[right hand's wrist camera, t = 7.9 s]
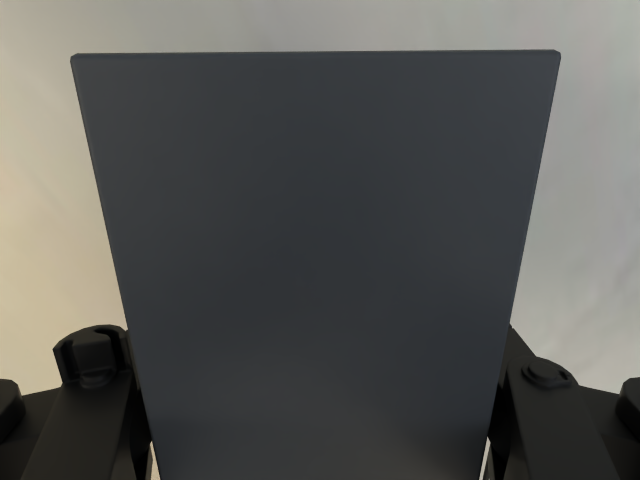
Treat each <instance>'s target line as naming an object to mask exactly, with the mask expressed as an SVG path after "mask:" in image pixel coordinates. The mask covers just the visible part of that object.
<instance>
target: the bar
mask: <svg viewBox="0 0 640 480" xmlns="http://www.w3.org/2000/svg"><path fill="white" fill-rule="evenodd" d="M560 60H561V54H560V52H558V51H556V50H437V51H317V52H197V53H77V54H75V55H73V56H71V59H70V63H71V68H72V72H73V77H74V82H75V86H76V91H77V96H78V100H79V105H80V109H81V114H82V119H83V123H84V128H85V133H86V137H87V142H88V146H89V151H90V156H91V160H92V165H93V170H94V174H95V179H96V183H97V188H98V193H99V197H100V202H101V207H102V211H103V216H104V220H105V225H106V230H107V234H108V239H109V244H110V248H111V253H112V258H113V262H114V267H115V271H116V276H117V281H118V285H119V290H120V295H121V299H122V304H123V308H124V313H125V318H126V322H127V327H128V332H129V336H130V341H131V345H132V350H133V355H134V359H135V364H136V369H137V373H138V378H139V383H140V387H141V392H142V396H143V401H144V406H145V410H146V415H147V420H148V424H149V429H150V433H151V438H152V443H153V447H154V452H155V457H156V461H157V466H158V470H159V475H160V480H479V477H480V472H481V467H482V462H483V457H484V451H485V446H486V441H487V436H488V431H489V426H490V420H491V415H492V410H493V405H494V400H495V395H496V390H497V384H498V379H499V374H500V369H501V364H502V359H503V354H504V348H505V343H506V338H507V333H508V328H509V323H510V318H511V312H512V307H513V302H514V297H515V292H516V287H517V281H518V276H519V271H520V266H521V261H522V256H523V251H524V245H525V240H526V235H527V230H528V225H529V220H530V215H531V209H532V204H533V199H534V194H535V189H536V184H537V178H538V173H539V168H540V163H541V158H542V153H543V148H544V142H545V137H546V132H547V127H548V122H549V117H550V112H551V106H552V101H553V96H554V91H555V86H556V81H557V75H558V70H559V65H560Z"/></svg>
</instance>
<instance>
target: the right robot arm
mask: <svg viewBox="0 0 640 480" xmlns="http://www.w3.org/2000/svg"><path fill="white" fill-rule="evenodd" d="M53 352H54V356H55V359H56V362H57V366H58V369H59V372H60V376H61V379H62V382H63V383H62V385H61V387H59V388H56V389H51V390H47V391H42V392H37V393H33V394H28V395H23V396H22V395H21V393H20V390H19V387H18V384H16V383H15V382H13V381H12V380H7V379H0V480H151V471H152V462H153V458H152V452H151V447H150V443H151V441H152V438H151V433H150V429H149V424H148V420H147V415H146V410H145V406H144V401H143V396H142V392H141V387H140V383H139V378H138V373H137V369H136V364H135V359H134V355H133V350H132V345H131V341H130V336H129V332H128V330H126V332H125V330H124V329H122V328H121V327H120V326H115V325H96V326H92V327H88V328H83V329H81V330H79V331H76V332H74V333H71V334H70V335H68V336H66V337H65V338H63V339H62V340H60V341H59V342H58V343H57V345H56V346H55V347H54V348H53ZM488 438H489V440H490V442H491V443H490V447H489V452H488V456H487V461H486V466H485V470H484V475H483V480H640V377H637V378H629V379H628V380H627V381H625V382H624V383H623V385H622V388H621V391H620V394H616V393H611V392H606V391H601V390H597V389H592V388H587V387H584V386H580V385H578V382H577V381H576V380H575V378H574V377H573V376H572V374H571V373H570V372H568V371H567V370H566V369H564V368H563V367H562V366H560V365H558V364H556V363H554V362H552V361H550V360H547V359H543V358H540V357H536V356H535V355H534V353H533V352H532V351H531V350H530V348H529V347H528V346H527V345H526V343H525V342H524V341H523V340H522V338H521V337H520V336H519V335H518V333H517V332H516V331H515V330H514V328H512V326H511V325H510V323H509V328H508V333H507V338H506V343H505V348H504V354H503V359H502V364H501V369H500V374H499V379H498V384H497V390H496V395H495V400H494V405H493V410H492V415H491V420H490V426H489V431H488Z"/></svg>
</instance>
